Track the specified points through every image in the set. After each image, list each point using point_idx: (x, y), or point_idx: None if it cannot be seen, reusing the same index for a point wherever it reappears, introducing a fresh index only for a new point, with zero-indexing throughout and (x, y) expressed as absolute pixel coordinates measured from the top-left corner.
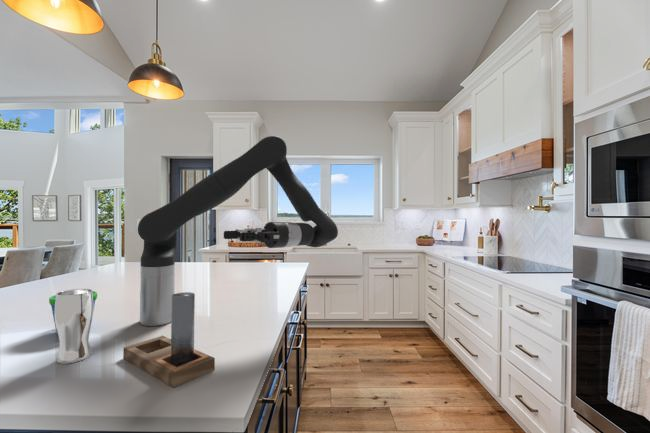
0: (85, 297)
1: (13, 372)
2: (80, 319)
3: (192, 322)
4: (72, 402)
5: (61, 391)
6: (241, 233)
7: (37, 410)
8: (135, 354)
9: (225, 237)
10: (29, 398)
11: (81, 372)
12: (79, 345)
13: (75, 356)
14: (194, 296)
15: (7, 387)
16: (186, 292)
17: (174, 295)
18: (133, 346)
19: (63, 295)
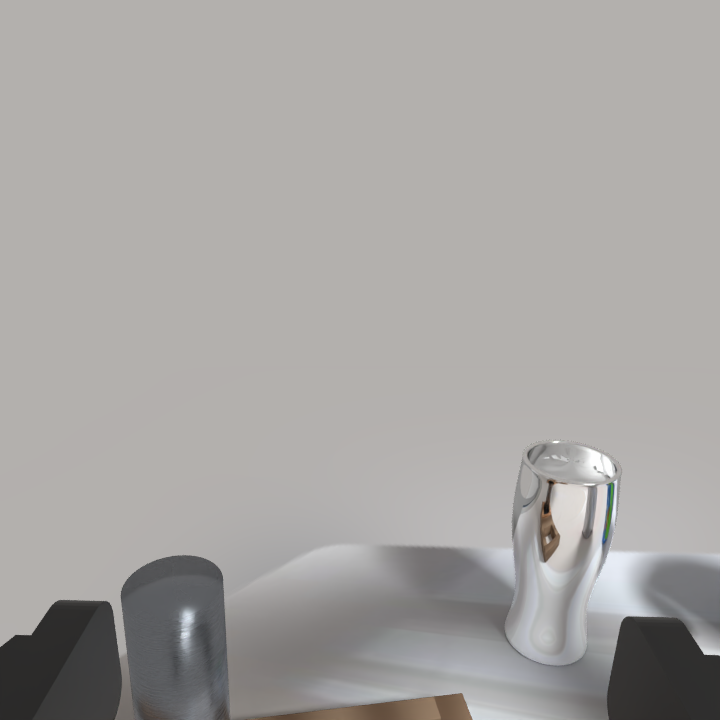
0: (534, 483)
1: None
2: (516, 534)
3: (134, 704)
4: (271, 603)
5: (342, 597)
6: (62, 601)
7: (291, 568)
8: (372, 705)
9: (612, 701)
10: (355, 564)
11: (423, 633)
12: (518, 603)
13: (507, 619)
14: (134, 622)
15: (437, 548)
16: (201, 605)
17: (197, 564)
18: (450, 717)
19: (529, 445)
